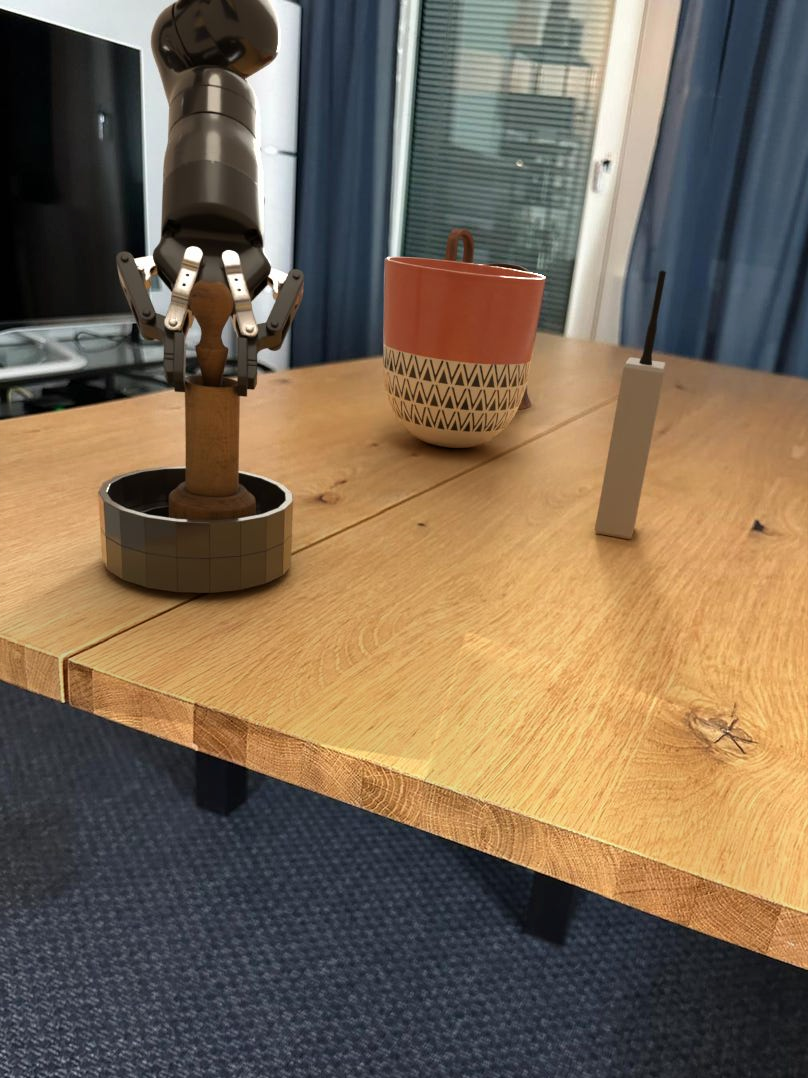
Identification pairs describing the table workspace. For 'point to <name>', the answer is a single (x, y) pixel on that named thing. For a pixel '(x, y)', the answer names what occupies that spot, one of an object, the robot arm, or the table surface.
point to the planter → (457, 346)
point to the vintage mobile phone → (631, 435)
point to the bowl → (192, 535)
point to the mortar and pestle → (211, 420)
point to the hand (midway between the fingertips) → (211, 387)
